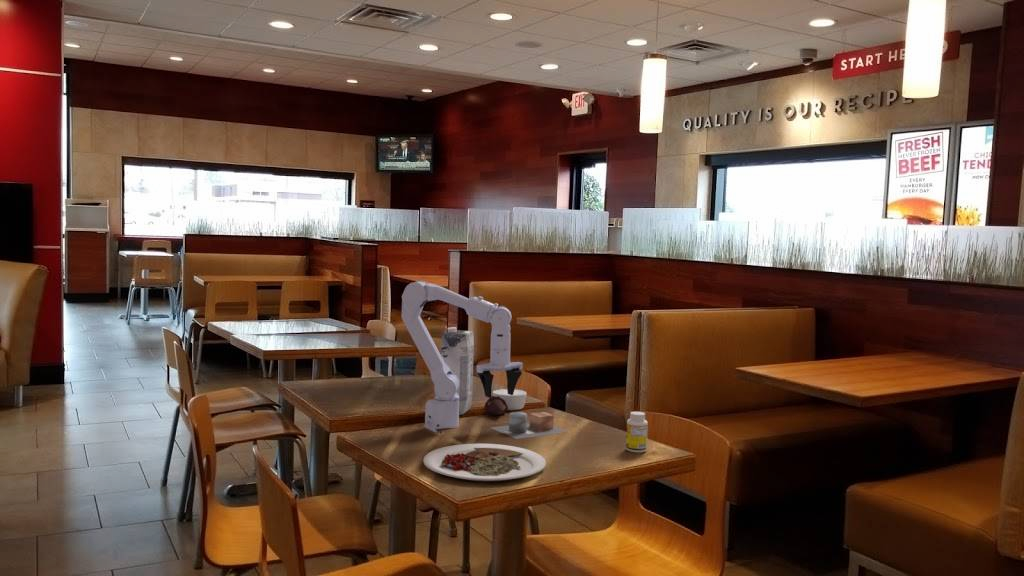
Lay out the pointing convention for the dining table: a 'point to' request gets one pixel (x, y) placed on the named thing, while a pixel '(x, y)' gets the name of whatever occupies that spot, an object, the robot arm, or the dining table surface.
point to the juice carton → (460, 362)
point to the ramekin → (512, 398)
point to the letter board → (528, 431)
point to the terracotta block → (541, 421)
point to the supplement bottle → (636, 432)
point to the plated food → (483, 462)
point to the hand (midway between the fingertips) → (499, 395)
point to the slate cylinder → (517, 422)
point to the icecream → (495, 406)
